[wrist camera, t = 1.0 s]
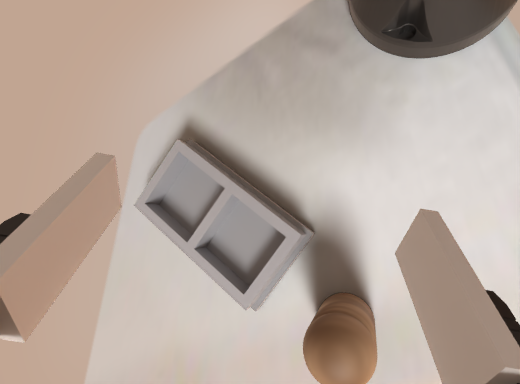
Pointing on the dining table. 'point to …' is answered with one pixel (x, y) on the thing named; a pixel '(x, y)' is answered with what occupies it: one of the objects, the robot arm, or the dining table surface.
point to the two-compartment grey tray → (223, 223)
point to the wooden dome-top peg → (341, 341)
